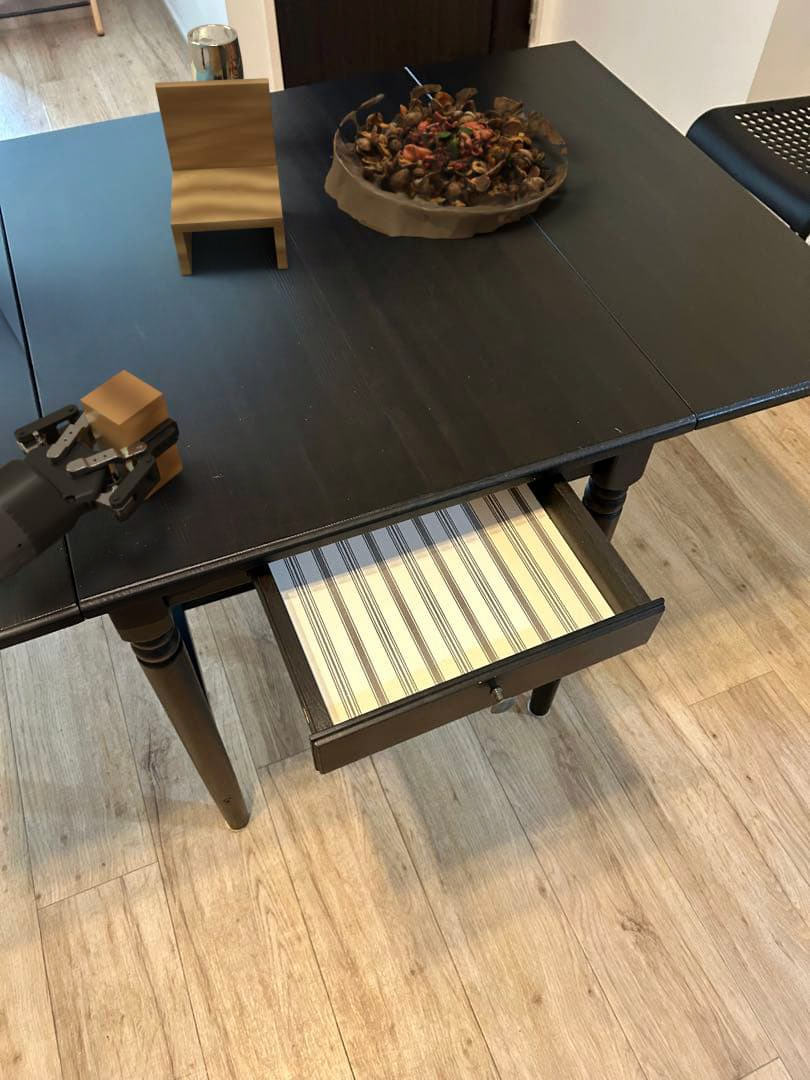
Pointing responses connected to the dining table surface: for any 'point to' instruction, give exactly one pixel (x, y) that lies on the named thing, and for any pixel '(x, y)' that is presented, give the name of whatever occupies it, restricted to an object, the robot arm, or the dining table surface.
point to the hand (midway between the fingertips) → (153, 412)
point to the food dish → (443, 167)
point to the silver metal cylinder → (215, 53)
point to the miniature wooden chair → (221, 160)
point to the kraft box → (129, 419)
